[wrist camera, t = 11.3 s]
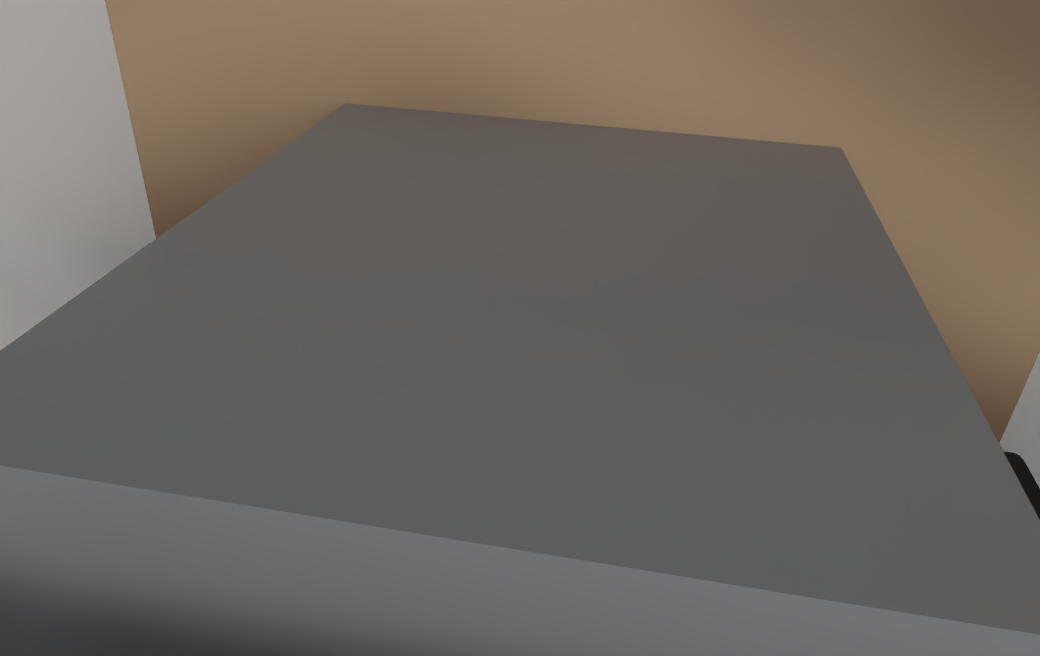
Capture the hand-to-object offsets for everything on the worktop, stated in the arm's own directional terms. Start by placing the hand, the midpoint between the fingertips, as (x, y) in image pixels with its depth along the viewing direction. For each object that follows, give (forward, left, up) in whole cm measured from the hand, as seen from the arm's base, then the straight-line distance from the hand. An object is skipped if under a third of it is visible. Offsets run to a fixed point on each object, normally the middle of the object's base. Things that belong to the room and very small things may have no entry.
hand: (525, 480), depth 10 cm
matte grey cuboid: (0, 0, -4) cm, 4 cm away
